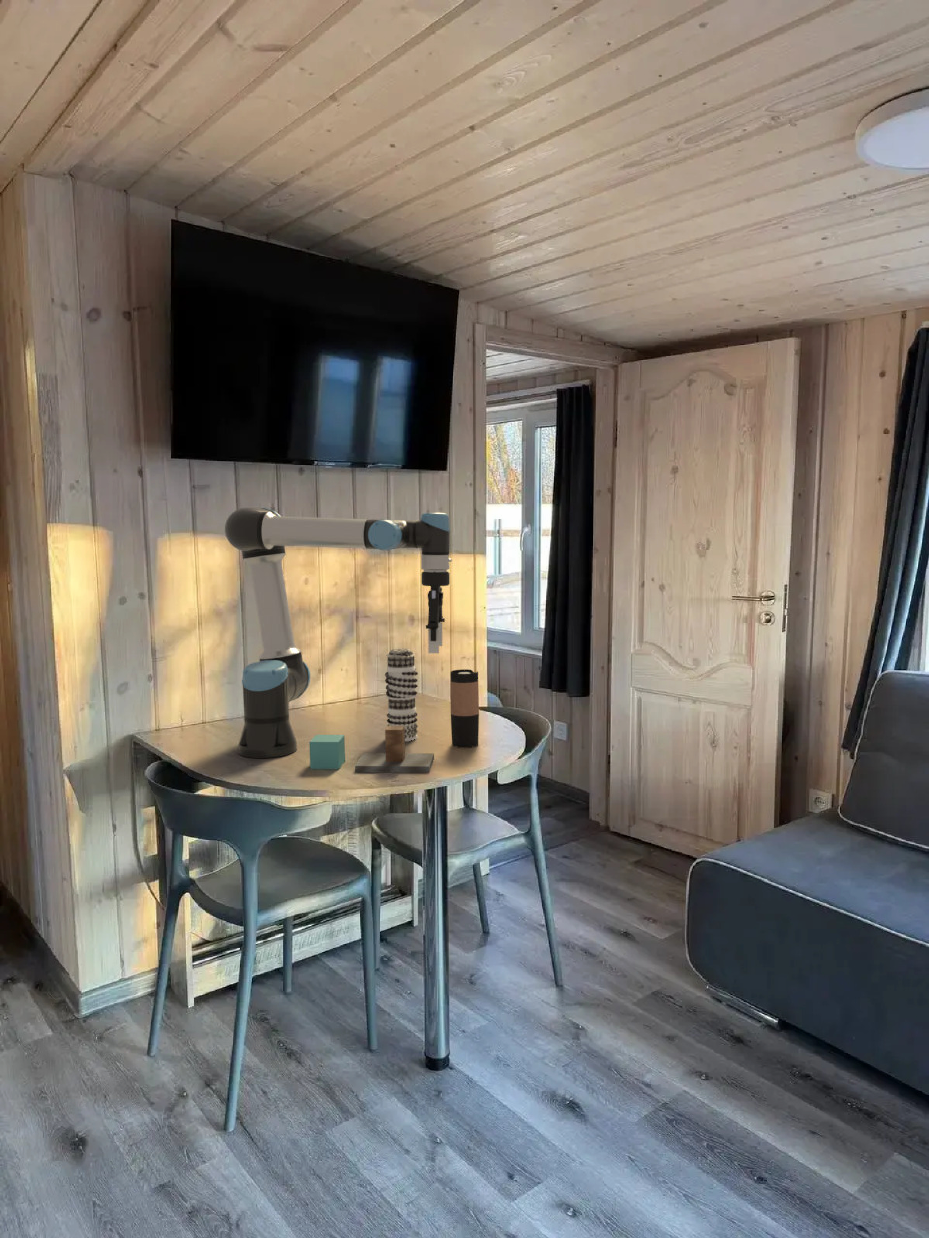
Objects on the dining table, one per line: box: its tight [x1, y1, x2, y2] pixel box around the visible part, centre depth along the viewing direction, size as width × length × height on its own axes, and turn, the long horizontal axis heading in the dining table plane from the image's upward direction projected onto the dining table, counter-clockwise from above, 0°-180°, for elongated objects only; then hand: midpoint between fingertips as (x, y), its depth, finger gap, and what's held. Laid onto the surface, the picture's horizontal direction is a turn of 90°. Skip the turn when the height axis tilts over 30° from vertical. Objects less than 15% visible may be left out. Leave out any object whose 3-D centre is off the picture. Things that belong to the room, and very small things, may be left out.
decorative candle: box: [384, 648, 419, 742], centre depth 240 cm, size 9×9×25 cm
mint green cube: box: [308, 734, 346, 770], centre depth 214 cm, size 7×7×7 cm
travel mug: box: [450, 668, 480, 748], centre depth 232 cm, size 8×8×20 cm
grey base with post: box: [354, 725, 435, 774], centre depth 213 cm, size 18×12×10 cm, turn 87°
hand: (435, 649), depth 232 cm, fingers open, 13 cm apart
